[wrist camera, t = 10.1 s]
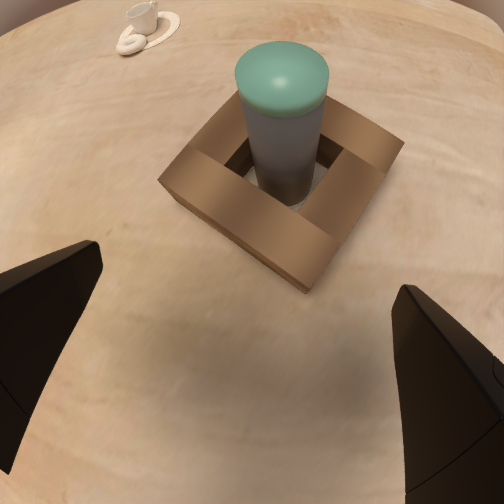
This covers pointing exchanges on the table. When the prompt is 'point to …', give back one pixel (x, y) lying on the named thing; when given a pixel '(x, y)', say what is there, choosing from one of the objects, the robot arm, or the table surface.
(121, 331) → the table surface
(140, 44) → the teacup and saucer
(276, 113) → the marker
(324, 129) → the socket block
